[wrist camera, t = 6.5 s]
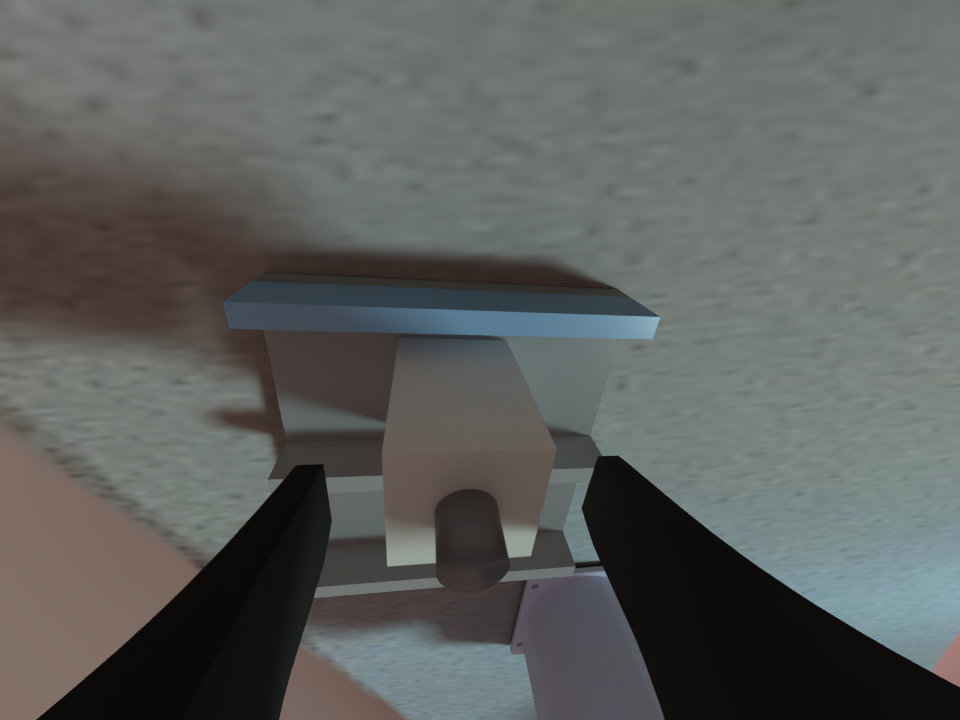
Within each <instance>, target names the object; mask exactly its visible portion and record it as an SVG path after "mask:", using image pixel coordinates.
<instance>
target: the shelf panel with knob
mask: <svg viewBox="0 0 960 720" xmlns="http://www.w3.org/2000/svg"><path fill="white" fill-rule="evenodd" d="M223 306H224V310H225V314H226V318H227V322H228V326H229V329H246V330H263V332H264V337H265V341H266V346H267V351H268V356H269V360H270V365H271V370H272V375H273V380H274V384H275V389H276V394H277V399H278V403H279V408H280V413H281V418H282V423H283V427H284V432H285V437H286V444H285V446H284V448H283V450H282V452H281V454H280V456H279V458H278V460H277V462H276V464H275V466H274V468H273V470H272V472H271V474H270V476H269V478H268V482H269V486H270V490H271V494H272V493H273V492H274V491H275V489H276V488H277V487H278V486H279V485H280V483H281V482H282V481H283V480H284V479H285V477H286V476H287V475H288V474H289V473H290V471H291V470H292V469H293V468H294V467H295V466H297V465H310V464H324V471H325V478H326V484H327V491H328V498H329V504H330V511H331V517H332V524H331V529H330V535H329V540H328V545H327V550H326V555H325V560H324V565H323V568H322V572H321V575H320V578H319V582H318V585H317V588H316V592H315V595H314V598H321V597H333V596H345V595H357V594H368V593H380V592H392V591H403V590H415V589H427V588H439V587H444V586H443V585H442V584H440V582H439V581H438V579H437V576H436V563H429V564H415V565H401V566H388V567H387V552H386V532H385V511H384V490H383V469H382V448H383V441H384V434H385V428H386V421H387V414H388V407H389V400H390V394H391V387H392V380H393V373H394V367H395V360H396V353H397V346H398V340H399V338H439V339H478V340H507V342H508V344H509V346H510V348H511V350H512V353H513V355H514V357H515V359H516V361H517V363H518V366H519V368H520V370H521V372H522V374H523V376H524V379H525V381H526V383H527V385H528V387H529V389H530V392H531V394H532V396H533V398H534V400H535V402H536V404H537V407H538V409H539V411H540V413H541V415H542V417H543V420H544V422H545V424H546V426H547V428H548V430H549V433H550V435H551V437H552V439H553V441H554V443H555V446H556V448H557V451H556V455H555V459H554V464H553V468H552V472H551V476H550V480H549V484H548V488H547V492H546V496H545V500H544V504H543V508H542V512H541V517H540V521H539V525H538V529H537V533H536V537H535V541H534V545H533V549H532V553H531V556H525V557H512V558H509V561H510V567H509V570H508V572H507V574H506V575H505V576H504V577H503V578H502V579H501V580H500V581H499V582H509V581H521V580H532V579H544V578H556V577H568V576H573V573H574V570H575V567H576V566H575V563H574V560H573V558H572V555H571V552H570V550H569V547H568V544H567V542H566V539H565V536H564V533H563V527H564V524H565V520H566V517H567V513H568V510H569V506H570V503H571V499H572V496H573V493H574V489H575V486H576V483H581V482H590V480H591V476H592V473H593V470H594V467H595V463H596V460H597V457H598V456H602V454H601V453H600V451H599V450H598V448H597V446H596V445H595V443H594V441H593V440H592V438H591V436H590V434H591V430H592V427H593V423H594V420H595V417H596V413H597V410H598V406H599V403H600V399H601V396H602V392H603V389H604V386H605V382H606V379H607V375H608V372H609V368H610V365H611V361H612V358H613V354H614V351H615V348H616V344H617V341H618V338H619V339H653V337H654V334H655V331H656V328H657V325H658V322H659V319H660V317H659V316H658V315H656V314H655V313H653V312H652V311H650V310H649V309H647V308H646V307H644V306H643V305H641V304H640V303H638V302H636V301H635V300H633V299H632V298H630V297H629V296H627V295H626V294H624V293H623V292H621V291H620V290H618V289H603V288H582V287H561V286H540V285H519V284H497V283H476V282H455V281H434V280H413V279H391V278H370V277H349V276H328V275H307V274H285V273H264V274H262V275H261V276H259V277H258V278H256V279H255V280H253V281H252V282H250V283H249V284H248V285H246V286H245V287H243V288H242V289H240V290H239V291H237V292H236V293H234V294H233V295H232V296H230V297H229V298H227V299H226V300H224V301H223Z"/></svg>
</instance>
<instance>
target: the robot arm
mask: <svg viewBox="0 0 960 720" xmlns="http://www.w3.org/2000/svg"><path fill="white" fill-rule="evenodd" d="M582 511H583V514H584V517H585V521H586V524H587V527H588V530H589V533H590V536H591V539H592V542H593V545H594V548H595V550H596V552H597V555H598V557H599V559H600V561H601V564H602V566H596V567H583V568H575V570H574V573H573V576H568V577H556V578H544V579H532V580H526V583H525V588H524V592H523V596H522V600H521V604H520V608H519V612H518V616H517V621H516V625H515V629H514V633H513V637H512V641H511V645H510V650H511V653H512V654H513V655H520V654H525V659H526V664H527V669H528V674H529V678H530V683H531V688H532V693H533V698H534V703H535V708H536V713H537V718H538V720H960V687H958V686H956V685H954V684H952V683H950V682H948V681H947V680H945V679H943V678H941V677H939V676H938V675H936V674H934V673H932V672H930V671H928V670H927V669H925V668H923V667H921V666H919V665H918V664H916V663H914V662H912V661H910V660H908V659H907V658H905V657H903V656H901V655H899V654H897V653H896V652H894V651H892V650H890V649H889V648H887V647H885V646H884V645H882V644H880V643H878V642H877V641H875V640H873V639H871V638H870V637H868V636H866V635H864V634H863V633H861V632H859V631H858V630H856V629H854V628H853V627H851V626H849V625H848V624H846V623H845V622H843V621H841V620H840V619H838V618H836V617H835V616H833V615H831V614H830V613H828V612H827V611H825V610H823V609H822V608H820V607H818V606H817V605H815V604H814V603H812V602H810V601H809V600H807V599H806V598H804V597H803V596H801V595H800V594H798V593H796V592H795V591H793V590H792V589H790V588H789V587H787V586H786V585H784V584H783V583H782V582H780V581H779V580H777V579H776V578H774V577H773V576H771V575H770V574H768V573H767V572H765V571H764V570H762V569H761V568H759V567H758V566H757V565H755V564H754V563H752V562H751V561H750V560H748V559H747V558H745V557H744V556H743V555H741V554H740V553H739V552H737V551H736V550H735V549H733V548H732V547H731V546H729V545H728V544H727V543H725V542H724V541H723V540H721V539H720V538H719V537H717V536H716V535H715V534H713V533H712V532H711V531H709V530H708V529H707V528H706V527H704V526H703V525H702V524H701V523H699V522H698V521H697V520H696V519H694V518H693V517H692V516H691V515H689V514H688V513H687V512H686V511H684V510H683V509H682V508H681V507H679V506H678V505H677V504H676V503H675V502H673V501H672V500H671V499H670V498H669V497H667V496H666V495H665V494H664V493H663V492H661V491H660V490H659V489H658V488H657V487H656V486H654V485H653V484H652V483H651V482H650V481H648V480H647V479H646V478H645V477H644V476H642V475H641V474H640V473H639V472H638V471H637V470H635V469H634V468H633V467H632V466H630V465H629V464H628V463H627V462H626V461H624V460H623V459H622V458H620V457H619V456H598V457H597V460H596V463H595V467H594V470H593V473H592V476H591V480H590V483H589V486H588V489H587V493H586V496H585V499H584V502H583V506H582ZM331 524H332V517H331V511H330V504H329V498H328V491H327V484H326V478H325V471H324V464H310V465H297V466H295V467H294V468H293V469H292V470H291V471H290V473H289V474H288V475H287V476H286V477H285V479H284V480H283V481H282V482H281V483H280V485H279V486H278V487H277V488H276V489H275V491H274V492H273V493H272V494H271V495H270V496H269V498H268V499H267V500H266V501H265V502H264V503H263V504H262V506H261V507H260V508H259V509H258V510H257V511H256V512H255V514H254V515H253V516H252V517H251V518H250V519H249V520H248V521H247V522H246V524H245V525H244V526H243V527H242V528H241V529H240V530H239V531H238V532H237V533H236V535H235V536H234V537H233V538H232V539H231V540H230V541H229V542H228V543H227V544H226V545H225V547H224V548H223V549H222V550H221V551H220V552H219V553H218V554H217V555H216V556H215V557H214V558H213V559H212V560H211V561H210V562H209V563H208V564H207V565H206V566H205V567H204V568H203V569H202V570H201V571H200V572H199V573H198V575H196V576H195V577H194V578H193V579H192V580H191V581H190V582H189V583H188V584H187V586H186V587H185V588H184V589H183V590H182V591H180V592H179V593H178V594H177V596H175V597H174V598H173V599H172V600H171V601H170V602H169V603H168V604H167V605H166V606H165V607H164V608H163V609H162V610H161V611H160V612H159V613H158V614H157V615H156V616H155V617H153V618H152V619H151V620H150V621H149V622H148V623H147V624H146V625H145V626H144V627H143V628H141V630H139V631H138V632H137V633H136V634H135V635H134V636H133V637H132V638H130V639H129V640H128V641H127V642H126V643H125V644H124V645H123V646H122V647H121V648H119V649H118V650H117V651H116V652H115V653H114V654H113V655H111V656H110V657H109V658H108V659H107V660H106V661H105V662H103V663H102V664H101V665H100V666H99V667H98V668H96V669H95V670H94V671H93V672H92V673H91V674H89V675H88V676H87V677H86V678H85V679H84V680H83V681H82V682H80V683H79V684H78V685H77V686H76V687H74V689H72V690H71V691H70V692H69V693H67V694H66V695H65V696H64V697H63V698H62V699H61V700H59V701H58V702H57V703H56V704H54V705H53V706H52V707H51V708H50V709H48V710H47V711H46V712H45V713H44V714H43V715H41V716H40V717H39V718H38V719H36V720H279V717H280V713H281V708H282V704H283V700H284V696H285V692H286V688H287V685H288V681H289V677H290V674H291V670H292V667H293V664H294V660H295V657H296V654H297V650H298V647H299V644H300V641H301V637H302V634H303V631H304V628H305V624H306V621H307V618H308V615H309V611H310V608H311V605H312V602H313V598H314V595H315V592H316V588H317V585H318V582H319V578H320V575H321V572H322V568H323V565H324V560H325V555H326V550H327V545H328V540H329V535H330V529H331Z"/></svg>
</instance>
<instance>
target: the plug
mask: <svg viewBox="0 0 960 720" xmlns="http://www.w3.org/2000/svg"><path fill="white" fill-rule="evenodd" d="M556 451H557V448H556V446H555V443H554V441H553V439H552V437H551V435H550V433H549V430H548V428H547V426H546V424H545V422H544V420H543V417H542V415H541V413H540V411H539V409H538V407H537V404H536V402H535V400H534V398H533V396H532V394H531V392H530V389H529V387H528V385H527V383H526V381H525V379H524V376H523V374H522V372H521V370H520V368H519V366H518V363H517V361H516V359H515V357H514V355H513V353H512V350H511V348H510V346H509V344H508V342H507V340H478V339H439V338H399V340H398V346H397V353H396V360H395V367H394V373H393V380H392V387H391V394H390V400H389V407H388V414H387V421H386V428H385V434H384V441H383V448H382V469H383V490H384V511H385V532H386V552H387V567H388V566H401V565H415V564H429V563H436V576H437V579H438V581H439V582H440V584H442V585H443V586H444V587H446V588H448V589H451V590H455V591H461V592H470V591H477V590H481V589H485V588H488V587H490V586H492V585H494V584H496V583H497V582H499V581H500V580H501V579H502V578H503V577H504V576H505V575H506V574H507V572H508V570H509V567H510V561H509V558H512V557H525V556H531V553H532V549H533V545H534V541H535V537H536V533H537V529H538V525H539V521H540V517H541V512H542V508H543V504H544V500H545V496H546V492H547V488H548V484H549V480H550V476H551V472H552V468H553V464H554V459H555V455H556Z"/></svg>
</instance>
